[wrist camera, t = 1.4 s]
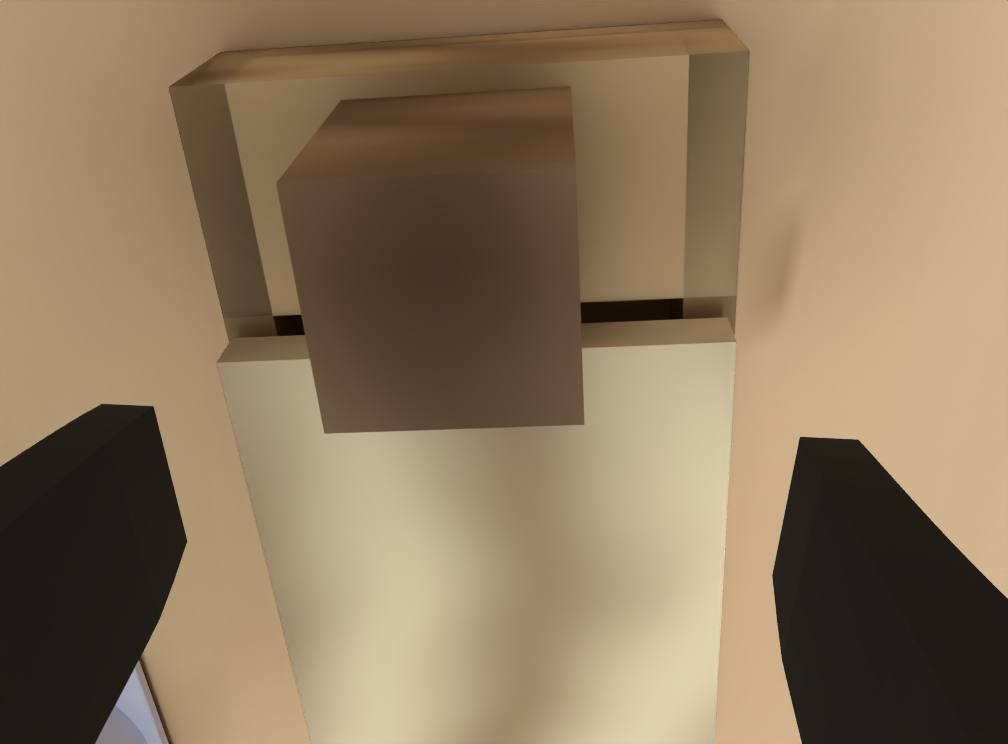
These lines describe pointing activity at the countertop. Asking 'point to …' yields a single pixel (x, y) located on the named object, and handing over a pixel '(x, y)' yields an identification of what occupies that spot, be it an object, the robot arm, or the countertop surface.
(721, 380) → the lid
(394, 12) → the countertop surface
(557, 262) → the block
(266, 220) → the brown divided tray
